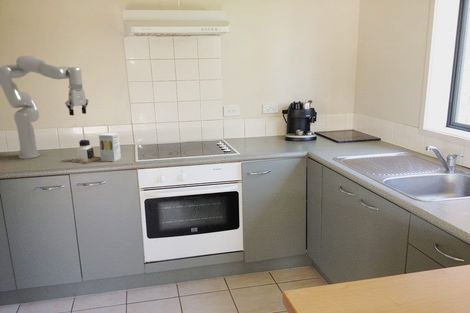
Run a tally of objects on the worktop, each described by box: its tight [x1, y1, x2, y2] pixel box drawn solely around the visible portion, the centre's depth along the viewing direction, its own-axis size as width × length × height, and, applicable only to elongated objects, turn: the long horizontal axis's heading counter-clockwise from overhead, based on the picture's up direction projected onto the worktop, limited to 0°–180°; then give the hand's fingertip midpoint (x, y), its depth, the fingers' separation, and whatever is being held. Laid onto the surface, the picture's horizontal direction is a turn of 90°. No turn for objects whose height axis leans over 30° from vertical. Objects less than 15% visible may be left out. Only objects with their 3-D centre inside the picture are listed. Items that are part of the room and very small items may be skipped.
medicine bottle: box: [76, 139, 95, 160], centre depth 259 cm, size 7×7×12 cm
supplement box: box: [98, 132, 122, 163], centre depth 259 cm, size 10×9×17 cm
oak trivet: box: [71, 155, 101, 164], centre depth 260 cm, size 12×12×2 cm
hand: (78, 114), depth 263 cm, fingers open, 9 cm apart
